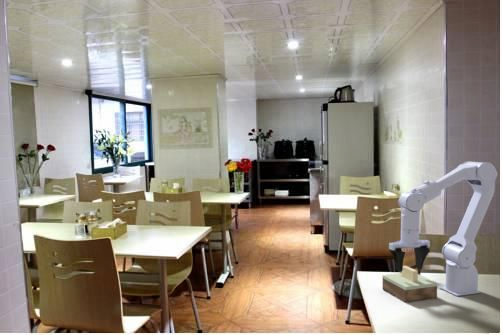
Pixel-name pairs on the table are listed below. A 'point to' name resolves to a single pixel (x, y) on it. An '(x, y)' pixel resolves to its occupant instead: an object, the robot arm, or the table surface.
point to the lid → (409, 279)
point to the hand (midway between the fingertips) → (409, 269)
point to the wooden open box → (410, 292)
